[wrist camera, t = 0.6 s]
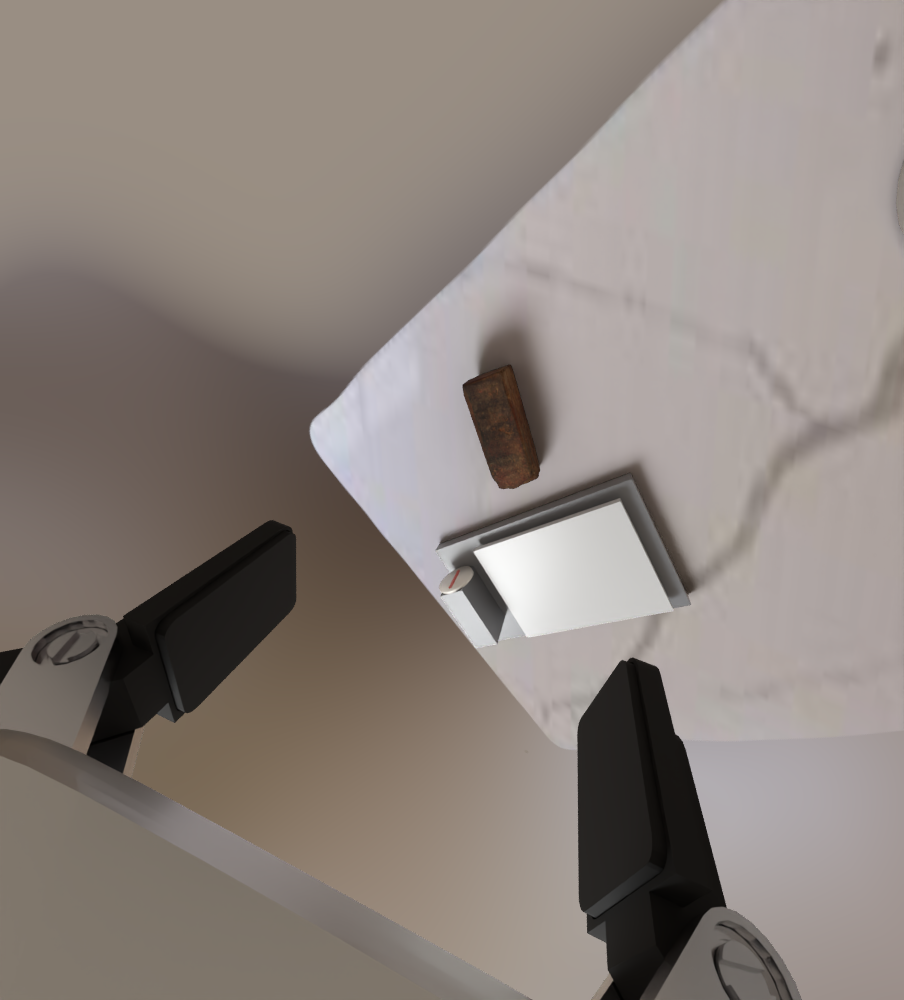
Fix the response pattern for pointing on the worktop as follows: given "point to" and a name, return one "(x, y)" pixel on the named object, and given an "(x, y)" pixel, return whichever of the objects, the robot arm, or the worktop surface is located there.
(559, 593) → the scale
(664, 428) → the worktop surface
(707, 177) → the worktop surface
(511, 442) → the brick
